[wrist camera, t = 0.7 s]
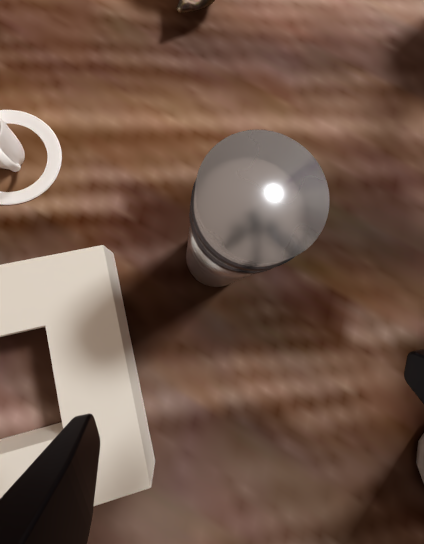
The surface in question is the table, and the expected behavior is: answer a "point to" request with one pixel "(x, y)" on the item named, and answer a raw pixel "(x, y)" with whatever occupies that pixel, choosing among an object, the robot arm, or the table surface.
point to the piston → (253, 207)
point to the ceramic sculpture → (192, 5)
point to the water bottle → (421, 457)
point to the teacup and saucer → (10, 154)
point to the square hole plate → (80, 364)
